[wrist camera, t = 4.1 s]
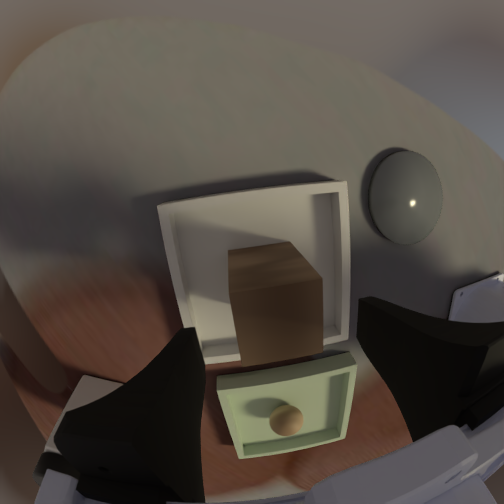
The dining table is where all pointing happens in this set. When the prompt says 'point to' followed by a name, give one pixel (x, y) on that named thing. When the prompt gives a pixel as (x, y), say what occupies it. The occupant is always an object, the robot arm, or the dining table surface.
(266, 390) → the green box
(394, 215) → the slate coaster
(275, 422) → the cork ball
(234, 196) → the grey box
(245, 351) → the walnut block
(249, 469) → the dining table surface
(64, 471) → the jar
